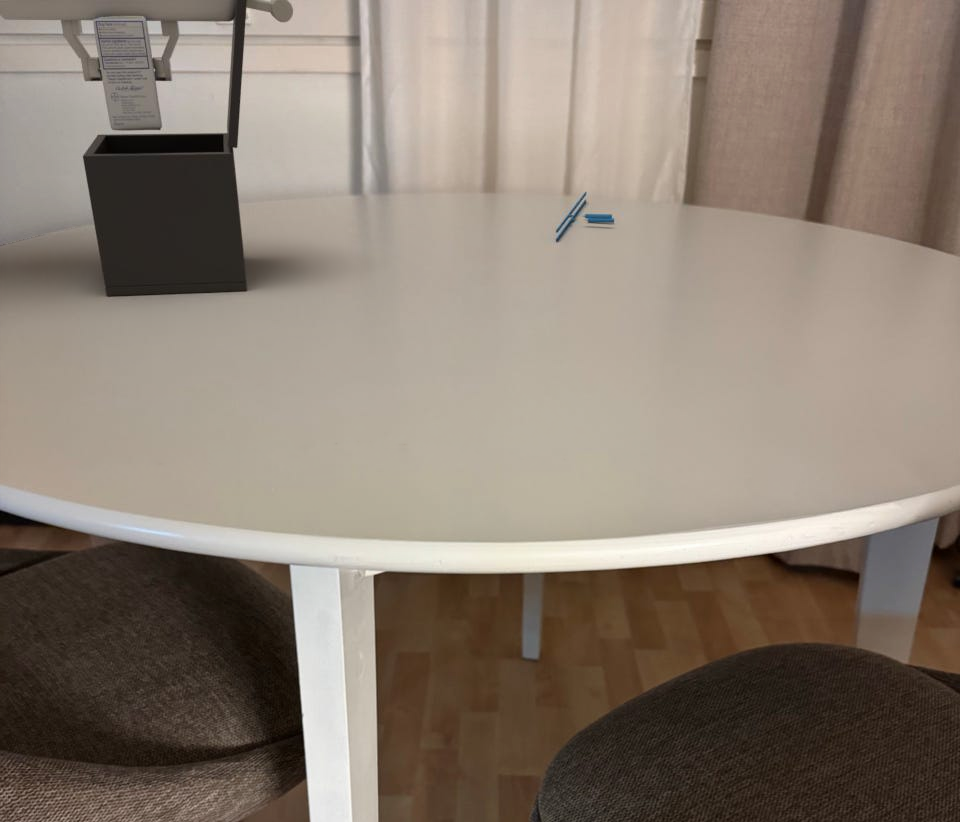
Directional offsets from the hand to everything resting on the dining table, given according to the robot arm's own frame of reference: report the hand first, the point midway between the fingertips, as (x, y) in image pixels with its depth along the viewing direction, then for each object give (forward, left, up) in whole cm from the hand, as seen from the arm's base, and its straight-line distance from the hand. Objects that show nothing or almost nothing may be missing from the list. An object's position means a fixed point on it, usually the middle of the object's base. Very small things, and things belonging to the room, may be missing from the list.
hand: (129, 80), depth 94 cm
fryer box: (+2, 0, -17) cm, 17 cm away
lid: (+9, 0, +2) cm, 9 cm away
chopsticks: (+50, +20, -17) cm, 57 cm away
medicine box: (0, 0, -4) cm, 4 cm away
